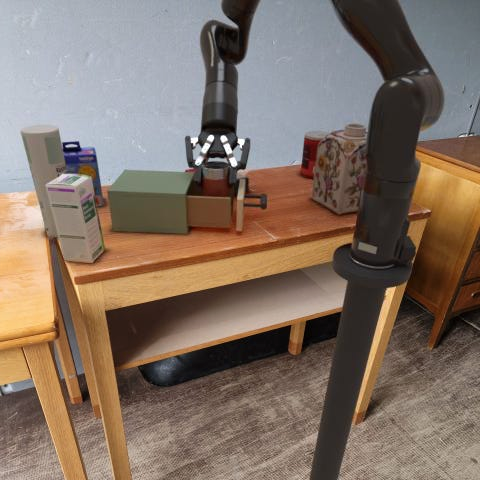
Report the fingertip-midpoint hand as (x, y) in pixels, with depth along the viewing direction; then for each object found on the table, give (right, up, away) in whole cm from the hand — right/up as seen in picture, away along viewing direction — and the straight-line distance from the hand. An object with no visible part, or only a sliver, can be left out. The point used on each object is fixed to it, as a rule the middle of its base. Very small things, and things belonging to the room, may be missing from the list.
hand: (215, 185), depth 91 cm
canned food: (+26, +14, +35) cm, 46 cm away
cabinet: (-13, -5, +7) cm, 16 cm away
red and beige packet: (-1, +7, +24) cm, 25 cm away
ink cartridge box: (-32, -1, +13) cm, 35 cm away
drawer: (+1, -5, +6) cm, 8 cm away
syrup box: (-24, -16, -8) cm, 30 cm away
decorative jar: (+30, +1, +17) cm, 35 cm away
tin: (0, -2, +4) cm, 5 cm away
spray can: (-32, -9, +1) cm, 33 cm away
